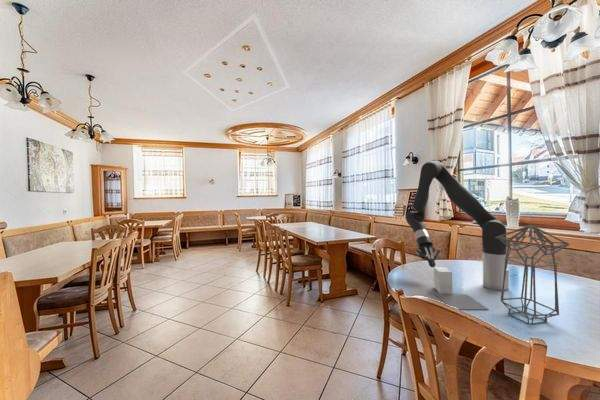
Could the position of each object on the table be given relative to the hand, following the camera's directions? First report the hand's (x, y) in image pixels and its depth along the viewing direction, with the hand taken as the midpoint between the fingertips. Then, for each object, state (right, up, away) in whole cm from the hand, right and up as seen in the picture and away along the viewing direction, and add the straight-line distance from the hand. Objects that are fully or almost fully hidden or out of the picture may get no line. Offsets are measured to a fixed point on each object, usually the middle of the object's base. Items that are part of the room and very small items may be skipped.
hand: (433, 266), depth 131 cm
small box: (-1, -9, -10) cm, 14 cm away
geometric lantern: (+16, -10, -39) cm, 43 cm away
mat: (0, -9, -23) cm, 24 cm away
